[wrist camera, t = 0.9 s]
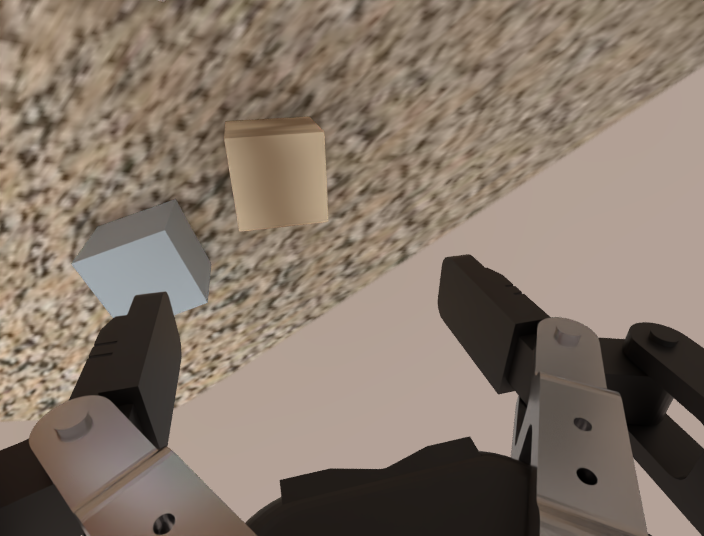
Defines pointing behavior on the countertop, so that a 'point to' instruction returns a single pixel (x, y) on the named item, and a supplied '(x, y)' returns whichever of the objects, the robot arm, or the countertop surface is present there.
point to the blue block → (146, 260)
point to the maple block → (277, 172)
